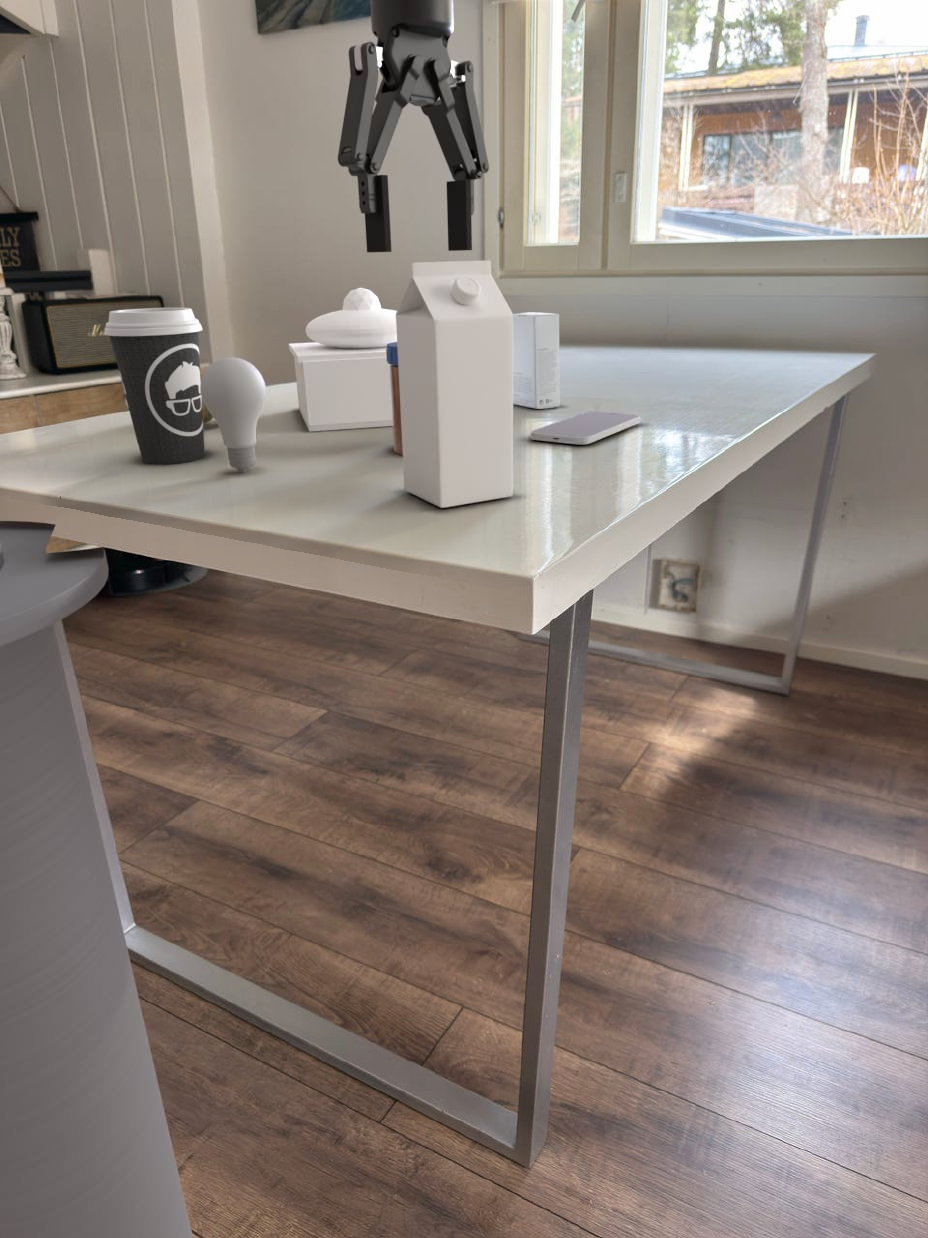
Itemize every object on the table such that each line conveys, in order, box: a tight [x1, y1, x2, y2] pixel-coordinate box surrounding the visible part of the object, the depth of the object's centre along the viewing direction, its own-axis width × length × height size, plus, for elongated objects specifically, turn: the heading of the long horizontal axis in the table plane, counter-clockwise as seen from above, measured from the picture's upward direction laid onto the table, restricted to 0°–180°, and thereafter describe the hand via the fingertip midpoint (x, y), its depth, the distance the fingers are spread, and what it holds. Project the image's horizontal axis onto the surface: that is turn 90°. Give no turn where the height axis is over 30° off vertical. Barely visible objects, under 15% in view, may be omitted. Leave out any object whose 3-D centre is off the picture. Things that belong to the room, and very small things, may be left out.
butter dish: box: [288, 287, 397, 432], centre depth 112 cm, size 18×18×16 cm
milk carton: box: [396, 259, 514, 509], centre depth 72 cm, size 7×7×19 cm
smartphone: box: [530, 410, 641, 445], centre depth 100 cm, size 7×1×15 cm
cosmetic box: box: [513, 311, 561, 410], centre depth 116 cm, size 6×4×12 cm
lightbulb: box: [200, 356, 267, 473], centre depth 84 cm, size 6×6×11 cm
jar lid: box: [386, 342, 398, 366], centre depth 90 cm, size 8×8×2 cm
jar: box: [390, 364, 403, 456], centre depth 92 cm, size 8×8×11 cm
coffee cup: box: [103, 307, 206, 465], centre depth 90 cm, size 10×10×15 cm
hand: (421, 251), depth 86 cm, fingers open, 10 cm apart
